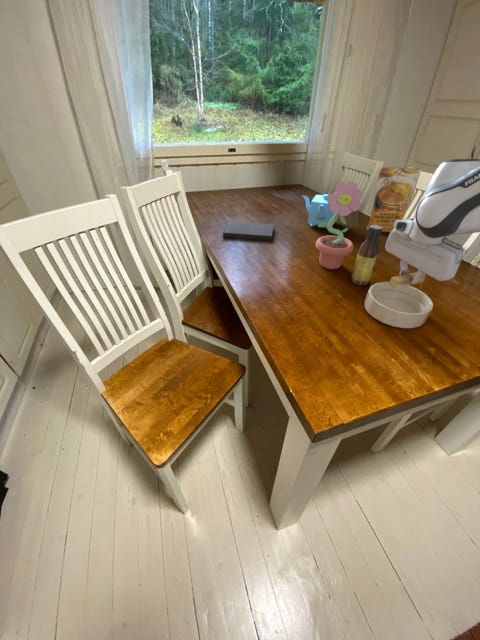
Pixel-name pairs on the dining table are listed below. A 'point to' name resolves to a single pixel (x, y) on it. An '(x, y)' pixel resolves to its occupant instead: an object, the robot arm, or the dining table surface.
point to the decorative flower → (337, 246)
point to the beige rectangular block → (404, 280)
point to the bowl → (398, 305)
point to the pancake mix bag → (392, 196)
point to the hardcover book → (249, 230)
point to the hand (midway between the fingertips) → (407, 278)
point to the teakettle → (318, 210)
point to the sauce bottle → (367, 256)
